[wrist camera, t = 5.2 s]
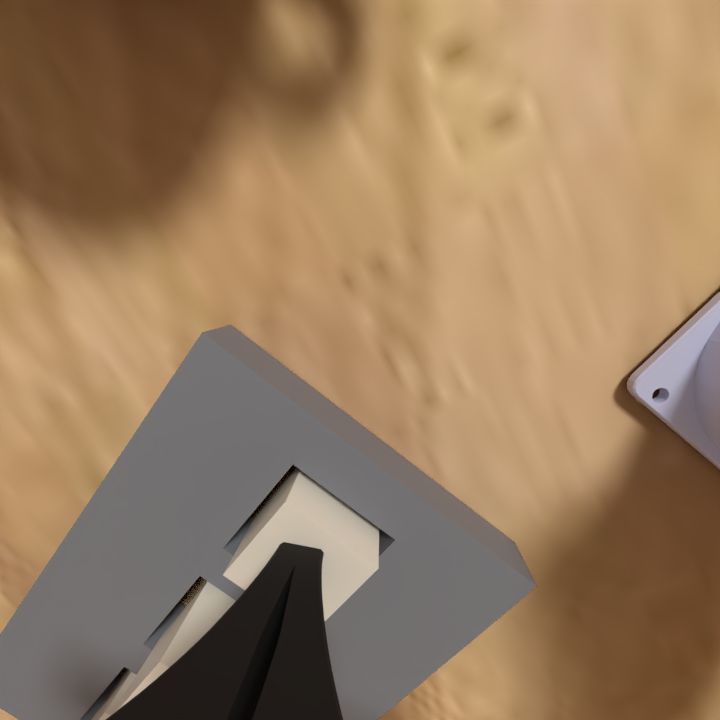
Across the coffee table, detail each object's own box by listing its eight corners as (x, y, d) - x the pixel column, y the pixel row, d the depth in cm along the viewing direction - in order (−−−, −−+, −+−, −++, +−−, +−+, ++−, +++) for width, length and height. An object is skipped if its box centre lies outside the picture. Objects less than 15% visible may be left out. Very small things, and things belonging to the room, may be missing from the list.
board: (515, 542, 14) (537, 586, 12) (244, 784, 18) (227, 845, 16) (230, 325, 12) (201, 332, 10) (14, 639, 17) (-35, 687, 15)
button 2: (379, 508, 13) (378, 568, 10) (325, 565, 14) (310, 635, 11) (307, 454, 13) (285, 501, 10) (255, 515, 14) (222, 575, 11)
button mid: (283, 630, 13) (256, 724, 10) (234, 681, 14) (196, 781, 11) (208, 579, 13) (159, 661, 10) (162, 633, 14) (105, 724, 11)
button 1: (219, 676, 16) (183, 761, 13) (180, 716, 17) (139, 804, 14) (155, 634, 16) (105, 712, 13) (119, 677, 16) (64, 759, 14)
